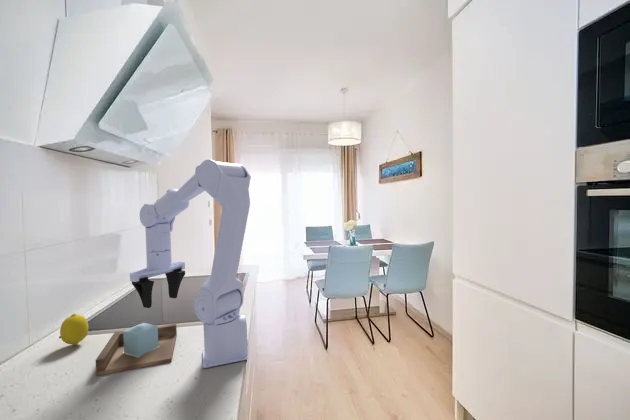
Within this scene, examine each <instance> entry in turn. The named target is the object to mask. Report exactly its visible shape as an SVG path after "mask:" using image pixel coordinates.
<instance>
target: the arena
mask: <svg viewBox="0 0 630 420" xmlns="http://www.w3.org/2000/svg"><path fill="white" fill-rule="evenodd" d="M157 326H158V347H156V348H154V349H152V350H150V351H148V352H146V353H144V354H142V355H140V356H139V357H138V356H135V355H132V354H128V353H125V352H124V336H123V331H124V330H120V331H115V332H114V333H113V334H112V336H111V337H110V338H109V339H108V341H107V343H106V345H105V346H104V347H103V349H102V350H101V351H100V353H99V354H98V356H97V357H96V359H95V374H96V375H95V376H96V377H97V376H98V377H99V376H103V375H108V374H113V373H114V374H115V373H119V372H123V371H124V372H125V371H130V370H135V369H139V368H145V367H151V366H156V365H162V364H167V363H171V362H172V360H173V355H174V352H175V347H176V341H177V337H178V331H177V323H169V324H168V323H167V324H162V325H157Z"/></svg>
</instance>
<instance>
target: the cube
mask: <svg viewBox="0 0 630 420" xmlns="http://www.w3.org/2000/svg"><path fill="white" fill-rule="evenodd" d="M158 326H159V325H155V324H151V323H147V322H142V323H140V324H139V323H138V324H137V325H134V326H132V327H129V328H128V329H124V330H122V331H123V336H124V352H125V353H128V354H132V355H135V356H138V357H139V356H140V355H142V354H144V353H146V352H148V351H150V350H152V349H154V348H156V347H158Z"/></svg>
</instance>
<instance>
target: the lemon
mask: <svg viewBox="0 0 630 420" xmlns="http://www.w3.org/2000/svg"><path fill="white" fill-rule="evenodd" d="M88 332H89V322H88V320H87V318H86V317H85V316H83V315H81V314H77V313H72V314H71V315H70V316H68V317H66V318H65V319H64V320H62V323H61V326H60V330H59V337H60V339H61V340H62V341H63V342H64V343H65V344H68V345H72V346H78V344H79V343H80V342H82V341H84V339H85V338H86V337H87V335H88Z"/></svg>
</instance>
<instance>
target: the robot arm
mask: <svg viewBox="0 0 630 420" xmlns="http://www.w3.org/2000/svg"><path fill="white" fill-rule="evenodd" d="M251 178H252V177H251V175H250V173H249V171H248V170H247V168H246V167H245V166H244V165H243V164H241V163H232V162H224V161H217V160H213V159H205V160H203V161H202V162H200V164H199V165H197V166H195V172H194V174H193V175H192V176H191V177H190V178H189V179H188V180H187V181H185V183H184V184H183V185H182V186H180V188H171V189H170V188H169V189H167V190H166V193H165V194H164V195H162V196H160V198H157V199H156V201H155V202H153V203H144V204H143V206H141V208H140V211H139V220H140V223H141V225H142V226H143V227H144V228H145V229H144V230H145V231H144V232H145V253H146V267H145V268H143V269H140V270H137V271H133V272H130V273H129V281H130V282H131V284H132V286H133V287H134V289H135V291H136V292H137V293H138V295H139V296H138V297H140V300H141V303H142V307H143V308H145V309H146V308H147V309H150V308H152V302H153V299H152V298H153V296H152V295H153V288H154V283H155V281H154V280H150V278H153V277H157V276H161V275H165V277H166V280H167V281H166V282H167V285H168V296H169V298H170V299H177V298H178V295H179V294H178V293H179V290H180V286H181V283H182V281H183V278H184V277H185V275H186V271H185V269H186V262H185V261H175V262H172V241H171V239H172V238H171V235H172V234H171V233H172V232H173V229H174V227H173V225H174V223H175V221H176V220H175V219H176V216H178V215H179V214H181V213H183V212H184V211H185V210H187V209H188V208H189V207H190V201H191V200H192V199H194V198H196V197H197V196H199V195H200V194H202V193H204V192H206V193H207V194H208V195H209V196H210V197H211V198H213V200H215V201H216V202H217V203H218V204H219V205H220V206H221V214H220V220H219V227H218V230H217V231H218V232H217V238H216V244H215V250H214V256H213V261H212V266H211V272H210V276H209V277H208V278H207V279H206V280H205V281H204V282H203V284H202V285H201V286H200V288H199V293H198V294H197V296H196V298H195V300H194V304H193V306H194V307H193V309H194V313H195V315H196V317H197V319H198V320H199V321H200V322H201V323H203V344H204V345H203V346H204V347H203V350H202V368H203V369H207V368H213V367H217V366H222V365H227V364H232V363H237V362H243V361H246V360H249V355H248V354H249V353H248V351H249V349H248V345H249V343H248V324H247V318H246V315H245V314H241V313H240V312H239V309H241V307H242V306H243V304H244V294H243V286H244V283H243V282H242V281H241V280H240V278H238V277H237V275H238V270H239V267H240V266H239V264H240V260H241V256H242V255H241V254H242V250H243V249H242V248H243V243H244V238H245V233H246V229H247V223H248V222H247V221H248V216H249V211H250V207H251V198H250V197H251V196H250V190H249V189H250V183H251V182H250V181H251ZM239 313H240V314H239Z"/></svg>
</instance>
